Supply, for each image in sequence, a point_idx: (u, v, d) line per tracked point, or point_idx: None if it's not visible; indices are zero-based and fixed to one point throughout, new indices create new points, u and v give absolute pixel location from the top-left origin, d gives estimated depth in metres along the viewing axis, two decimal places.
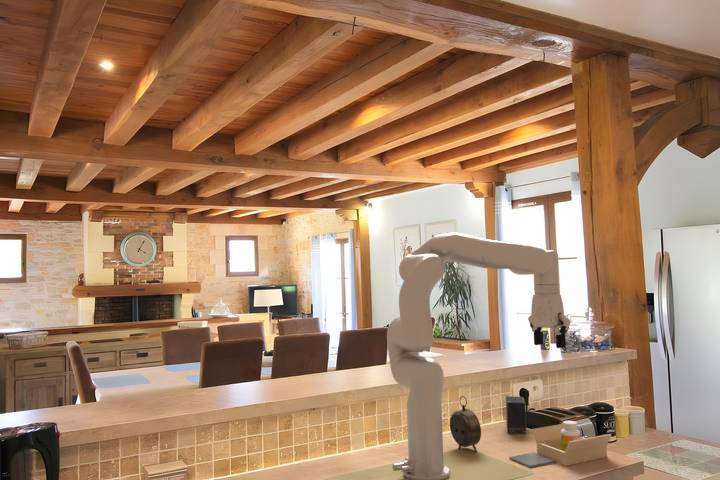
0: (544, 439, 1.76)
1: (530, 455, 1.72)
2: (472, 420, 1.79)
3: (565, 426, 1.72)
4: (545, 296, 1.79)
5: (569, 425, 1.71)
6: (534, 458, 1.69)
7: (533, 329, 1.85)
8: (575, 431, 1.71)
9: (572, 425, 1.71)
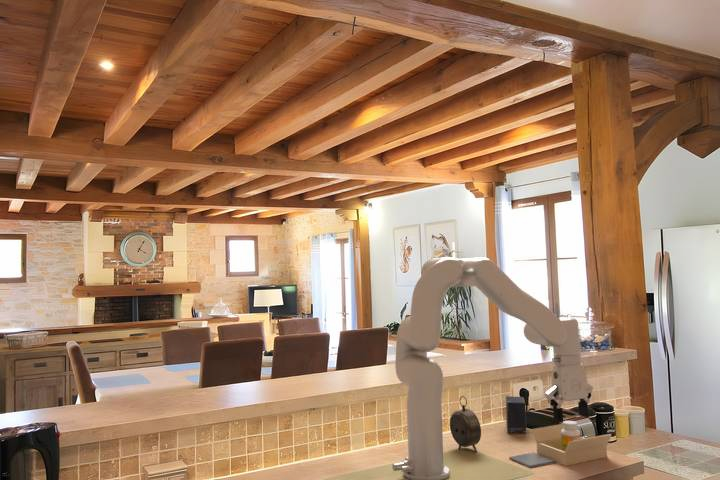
0: (544, 439, 1.76)
1: (530, 455, 1.72)
2: (472, 420, 1.79)
3: (565, 426, 1.72)
4: (579, 366, 1.73)
5: (569, 425, 1.71)
6: (534, 458, 1.69)
7: (559, 405, 1.70)
8: (575, 431, 1.71)
9: (572, 425, 1.71)
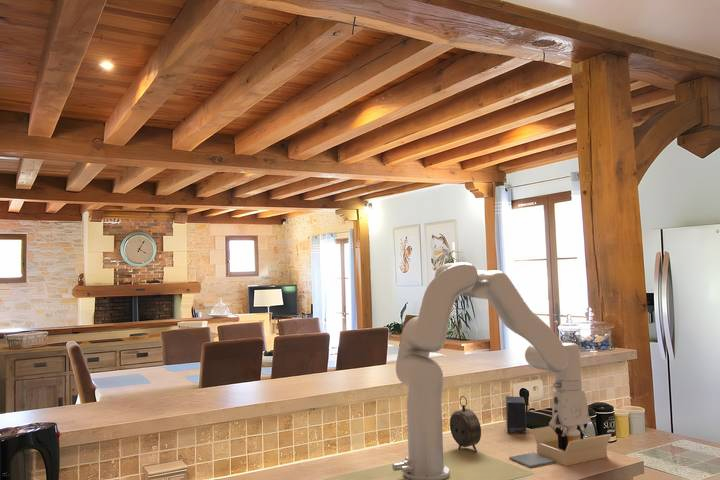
0: (544, 439, 1.76)
1: (530, 455, 1.72)
2: (472, 420, 1.79)
3: None
4: (580, 391, 1.72)
5: None
6: (534, 458, 1.69)
7: (564, 433, 1.70)
8: (575, 431, 1.71)
9: None
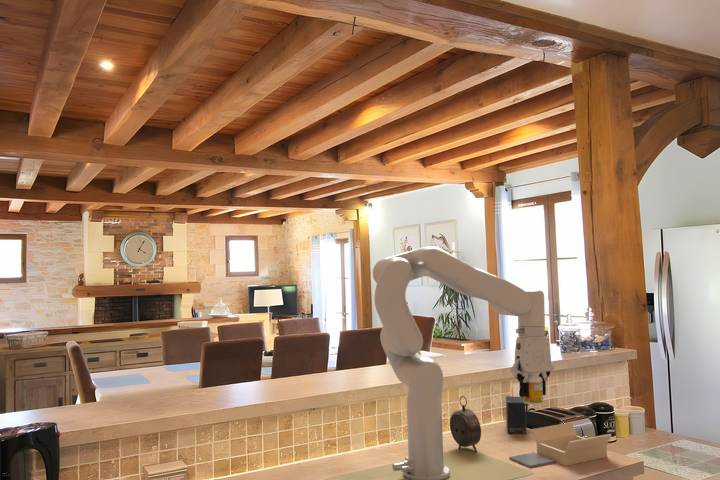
0: (544, 439, 1.76)
1: (530, 455, 1.72)
2: (472, 420, 1.79)
3: None
4: (543, 338, 1.70)
5: None
6: (534, 458, 1.69)
7: (525, 380, 1.68)
8: (537, 378, 1.69)
9: None
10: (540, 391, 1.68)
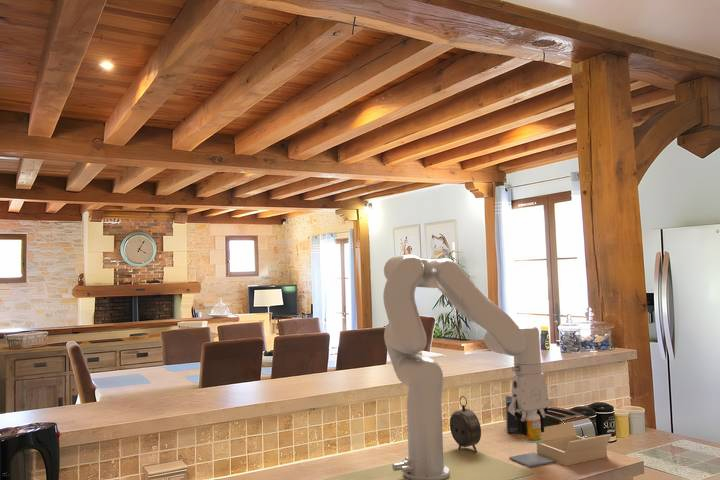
0: (544, 439, 1.76)
1: (530, 455, 1.72)
2: (472, 420, 1.79)
3: None
4: (539, 375, 1.69)
5: None
6: (534, 458, 1.69)
7: (523, 418, 1.67)
8: (535, 415, 1.68)
9: None
10: (538, 429, 1.67)
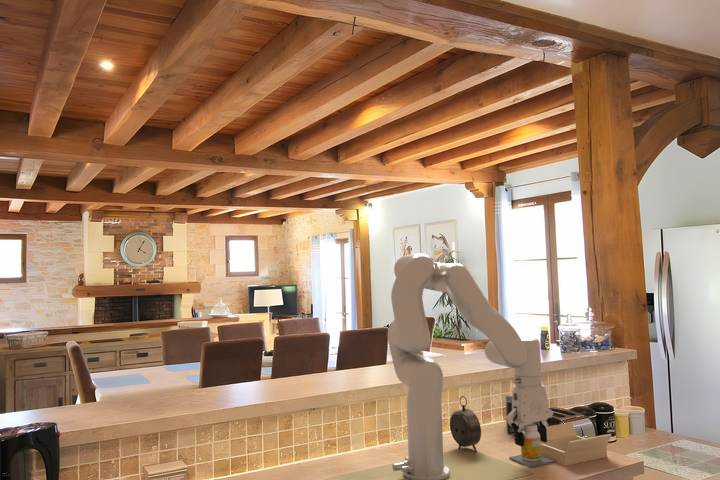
0: None
1: None
2: (472, 420, 1.79)
3: (524, 428, 1.69)
4: (540, 388, 1.69)
5: (528, 427, 1.68)
6: None
7: (520, 429, 1.66)
8: (534, 433, 1.67)
9: (531, 427, 1.68)
10: (538, 447, 1.67)
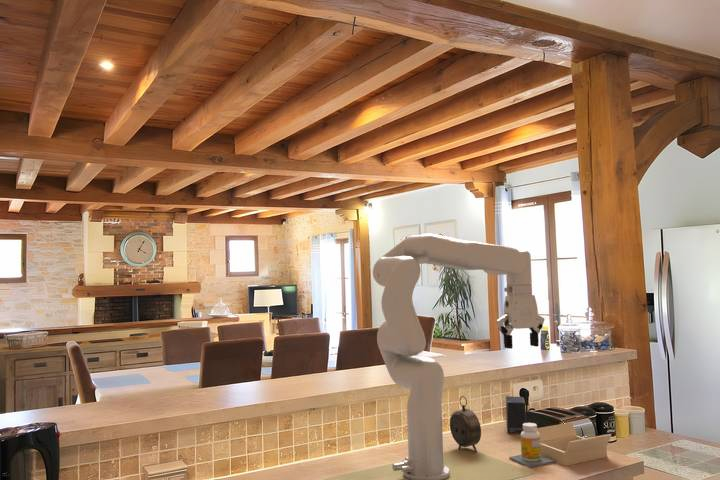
0: (544, 439, 1.76)
1: None
2: (472, 420, 1.79)
3: (524, 428, 1.69)
4: (530, 296, 1.79)
5: (528, 427, 1.68)
6: None
7: (508, 332, 1.77)
8: (534, 433, 1.67)
9: (531, 427, 1.68)
10: (538, 447, 1.67)
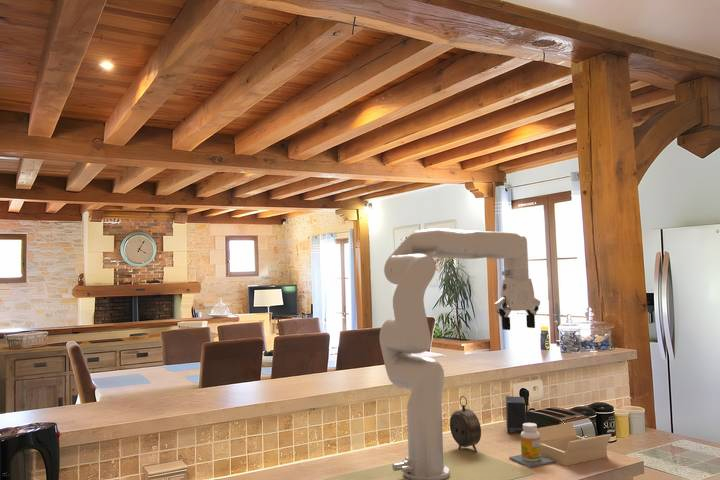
0: (544, 439, 1.76)
1: None
2: (472, 420, 1.79)
3: (524, 428, 1.69)
4: (527, 279, 1.86)
5: (528, 427, 1.68)
6: None
7: (506, 314, 1.83)
8: (534, 433, 1.67)
9: (531, 427, 1.68)
10: (538, 447, 1.67)
